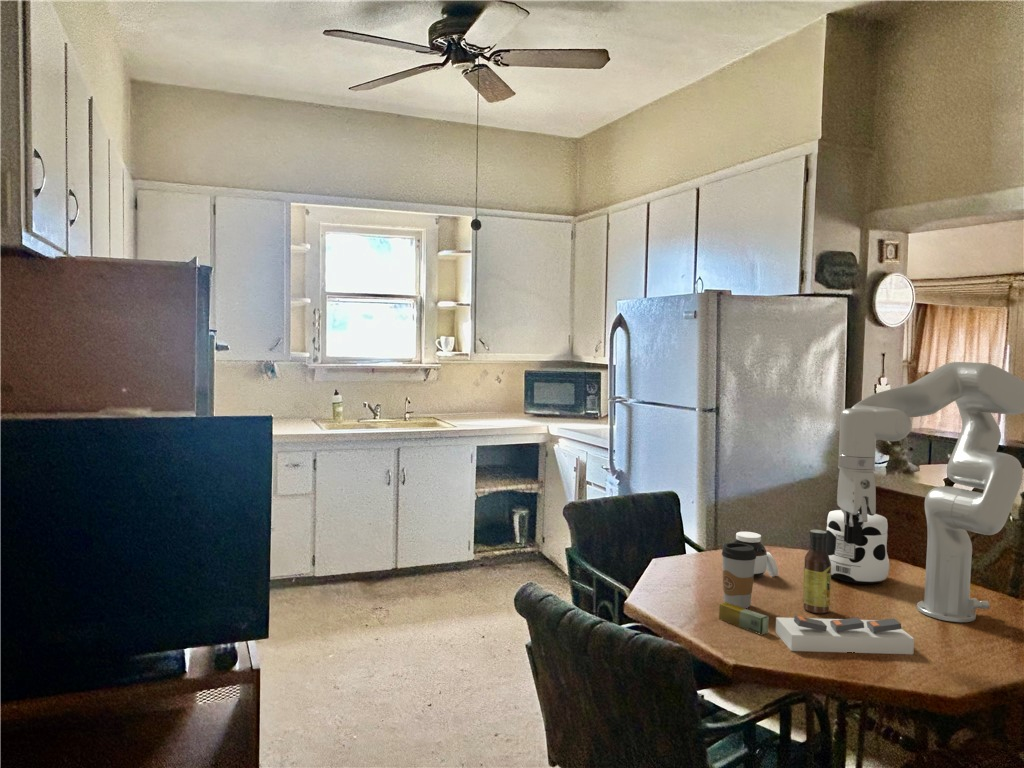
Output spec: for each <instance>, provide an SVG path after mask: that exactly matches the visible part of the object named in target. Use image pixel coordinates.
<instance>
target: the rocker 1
mask: <svg viewBox="0 0 1024 768" xmlns="http://www.w3.org/2000/svg"><path fill="white" fill-rule="evenodd" d="M793 618H794V622H795V623H796V624H797V625H798V626H801V627H806V628H811V629H816V630H821V631H826V629H827V626H826V625H825V624H824V623H823V622H822V621H819V620H814V619H809V617H804V616H800V615H794V617H793Z"/></svg>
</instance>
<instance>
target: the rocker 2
mask: <svg viewBox="0 0 1024 768" xmlns="http://www.w3.org/2000/svg"><path fill="white" fill-rule="evenodd" d="M877 620H878V621H871V622H867V627H868V628H869V629H870V630H871V631H872V632H873V633H876V632H884V631H891V630H898V629H902V630H903V628H902V623H901V622H899V621H898V620H897V619H896V618H895V617H894V618H887V619H886V618H885V619H881V620H880V619H877Z"/></svg>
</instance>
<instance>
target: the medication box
mask: <svg viewBox="0 0 1024 768" xmlns="http://www.w3.org/2000/svg"><path fill="white" fill-rule="evenodd" d="M718 619H719V620H720V619H722V620H721V621H723V620H724V622H725V621H727V622H726V623H728V622H729V624H731V623H732V624H731V625H733V624H735V625H734V626H736V625H737V627H739V626H740V627H739V628H742V627H743V628H742V629H744V628H745V629H744V630H747V629H748V630H747V631H750V630H751V631H750V632H752V631H754V632H753V633H755V632H757V633H756V634H758V633H760V634H764V635H766V634H765V633H767V632H768V633H769V623H770V622H769V619H770V617H769V616H768V615H766V614H762V613H760V612H757V611H753V610H751V609H748V608H747V609H745V608H742V607H739V606H736V605H733V604H730V603H726V602H721V603H719V612H718ZM768 633H767V634H768ZM760 634H759V635H760Z"/></svg>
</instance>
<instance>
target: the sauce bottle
mask: <svg viewBox="0 0 1024 768" xmlns="http://www.w3.org/2000/svg"><path fill="white" fill-rule="evenodd" d="M826 539H827V530H823V529H822V530H821V529H811V530H809V550H808V551H807V552H806V554H805V556H804V567H803V582H802V585H803V588H802V589H803V590H802V593H803V594H802V602H803V609H804V610H806V611H807V612H810V613H813V614H826V613H828V612H829V611H830V606H831V581H832V576H831V562H830V559H829V556H828V553H827V549H826Z"/></svg>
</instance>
